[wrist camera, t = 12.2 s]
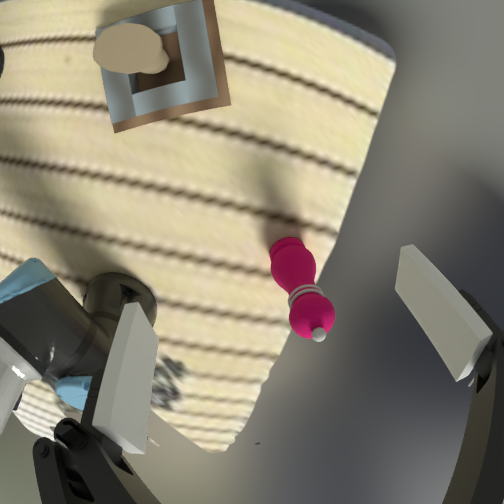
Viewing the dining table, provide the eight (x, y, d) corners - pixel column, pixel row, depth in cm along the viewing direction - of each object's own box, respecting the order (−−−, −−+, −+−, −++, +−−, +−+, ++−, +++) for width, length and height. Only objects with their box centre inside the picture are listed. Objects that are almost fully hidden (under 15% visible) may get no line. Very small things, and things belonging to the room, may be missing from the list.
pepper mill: (266, 236, 48) (292, 323, 31) (308, 232, 48) (353, 313, 31) (267, 272, 51) (290, 362, 34) (307, 267, 52) (344, 352, 35)
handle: (142, 43, 29) (103, 20, 16) (186, 51, 31) (168, 28, 18) (131, 74, 31) (86, 68, 18) (174, 83, 33) (149, 77, 20)
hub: (116, 132, 36) (104, 138, 32) (98, 31, 27) (84, 25, 23) (230, 105, 36) (232, 106, 32) (213, -1, 27) (212, -12, 23)
